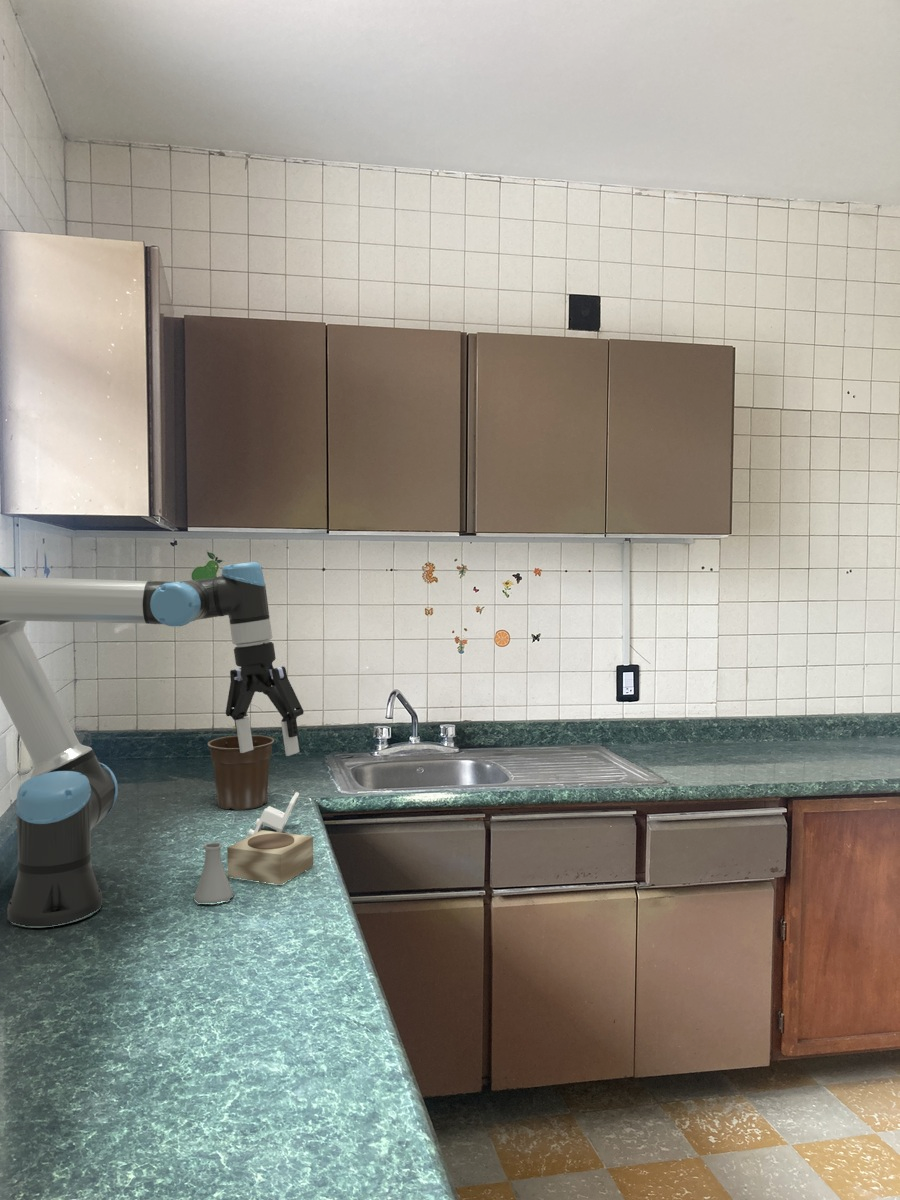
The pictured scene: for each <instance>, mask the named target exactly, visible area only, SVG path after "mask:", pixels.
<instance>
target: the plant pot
mask: <svg viewBox="0 0 900 1200" xmlns="http://www.w3.org/2000/svg"><path fill="white" fill-rule="evenodd" d="M251 735H252V742H253V749H254V750H251V751H248V752H244V753H240V748H239V741H238V735H237V734H236V735H227V736H222V737H217V738H215V739H211V740H210V741H208V742H207V746H208V748H209V751H210V759H211V761H212V767H213V773H214V781H215V782H214V783H215V791H216V792H215V793H216V799H217V806H218V807H219V808H220V807H221V808H220V809H223V810H227V809H228V810H230V809H233V810H234V811H245V810H247V809H248V810H253V809H255V808H259V807H262V806H264V805H265V804H266V803H267V802H268V788H269V787H268V786H269V774H270V761H271V756H272V753H273V752H272V751H273V750H272V749H273V744H274V742H275V739H274V738H273V737H271V736H266V735H261V734H251ZM248 810H247V811H248Z"/></svg>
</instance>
